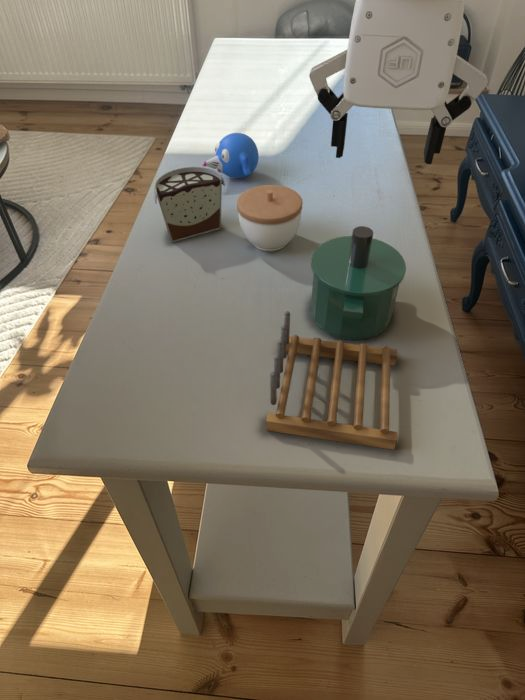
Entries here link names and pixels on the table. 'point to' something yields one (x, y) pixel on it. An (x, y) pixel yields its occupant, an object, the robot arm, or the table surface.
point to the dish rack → (331, 428)
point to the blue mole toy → (235, 156)
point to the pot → (351, 312)
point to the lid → (358, 264)
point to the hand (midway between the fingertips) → (383, 155)
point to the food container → (190, 201)
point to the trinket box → (269, 216)
